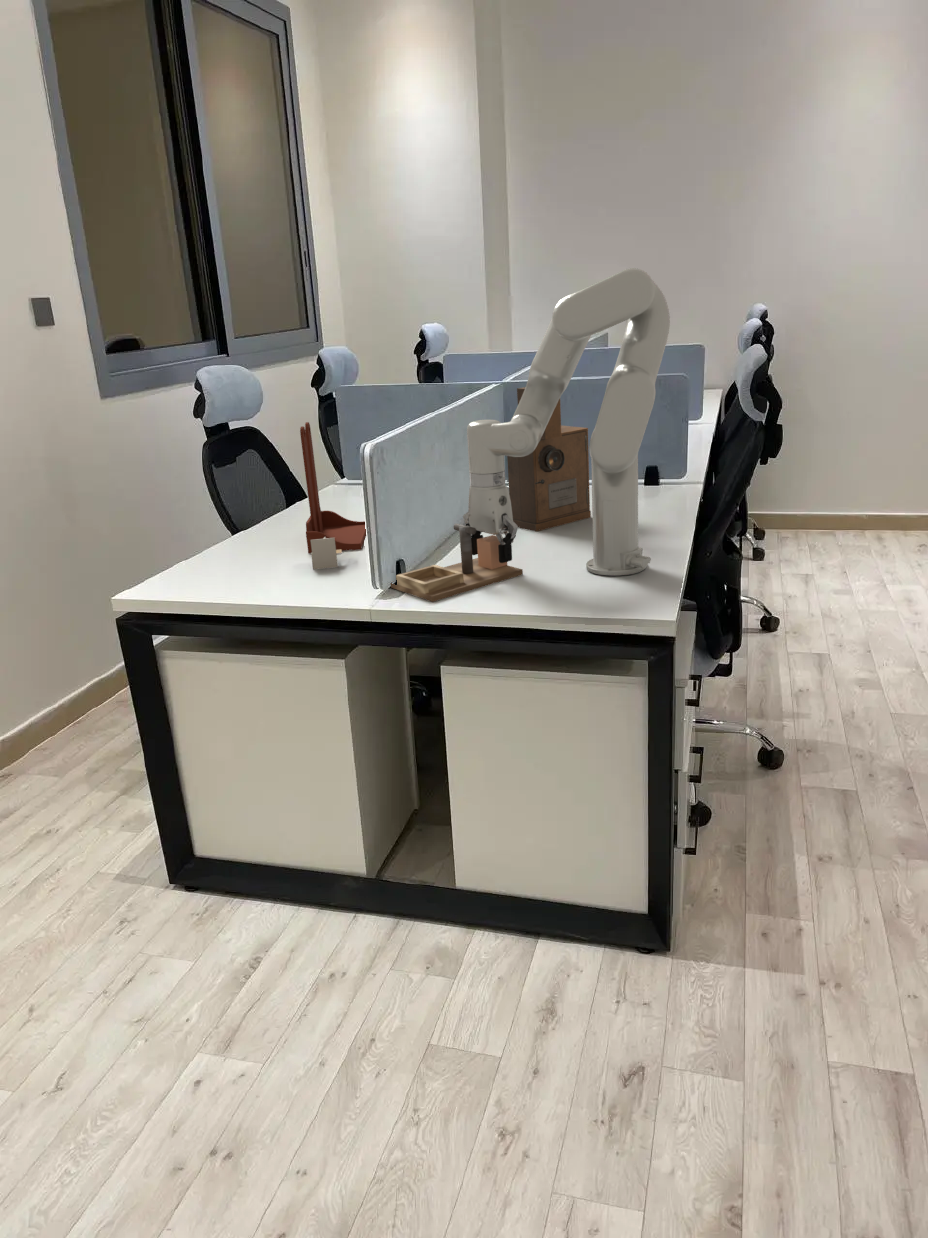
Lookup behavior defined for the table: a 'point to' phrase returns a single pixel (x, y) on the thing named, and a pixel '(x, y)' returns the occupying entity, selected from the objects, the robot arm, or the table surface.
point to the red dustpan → (326, 522)
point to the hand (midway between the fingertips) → (491, 557)
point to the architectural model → (324, 553)
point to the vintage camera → (551, 477)
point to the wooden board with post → (453, 574)
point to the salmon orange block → (489, 552)
